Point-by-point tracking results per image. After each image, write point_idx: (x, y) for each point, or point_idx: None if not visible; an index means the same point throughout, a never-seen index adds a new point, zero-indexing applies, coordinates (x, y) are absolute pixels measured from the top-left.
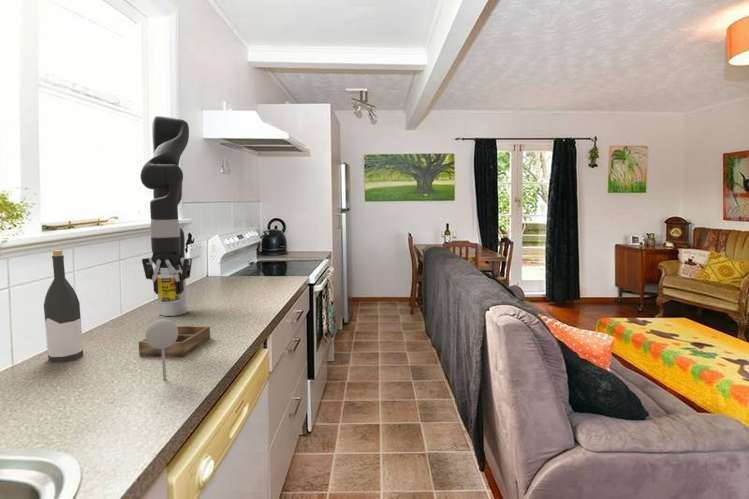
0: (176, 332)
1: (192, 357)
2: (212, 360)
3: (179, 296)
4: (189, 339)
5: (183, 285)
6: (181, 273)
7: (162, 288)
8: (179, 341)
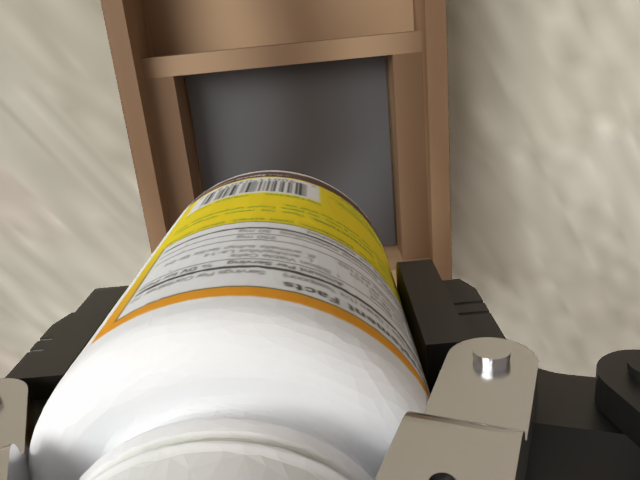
0: None
1: (486, 245)
2: (616, 265)
3: (381, 244)
4: (449, 202)
5: (492, 319)
6: (527, 443)
7: None
8: (287, 71)
